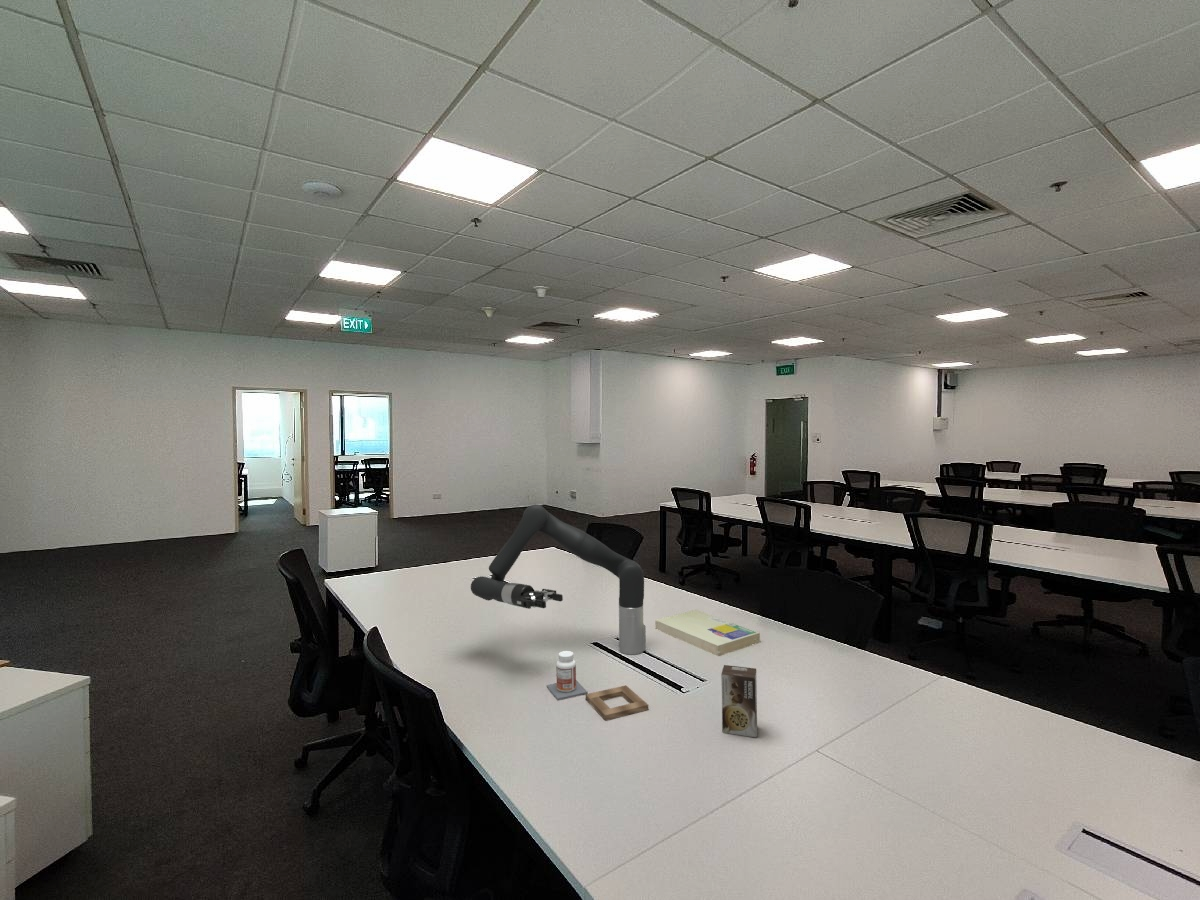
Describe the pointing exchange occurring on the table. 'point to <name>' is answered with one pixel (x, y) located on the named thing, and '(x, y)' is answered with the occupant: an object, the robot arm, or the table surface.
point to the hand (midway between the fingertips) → (553, 601)
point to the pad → (563, 695)
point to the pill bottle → (566, 672)
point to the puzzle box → (707, 632)
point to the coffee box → (739, 701)
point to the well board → (611, 713)
